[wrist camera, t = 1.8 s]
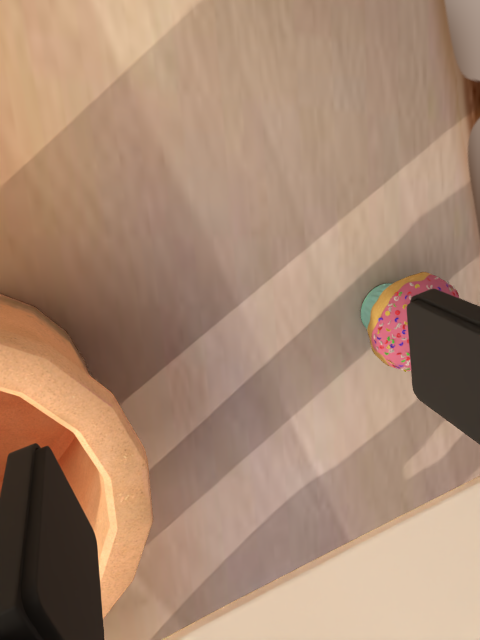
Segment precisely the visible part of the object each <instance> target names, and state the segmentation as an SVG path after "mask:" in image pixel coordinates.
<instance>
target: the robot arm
mask: <svg viewBox="0 0 480 640" xmlns="http://www.w3.org/2000/svg"><path fill="white" fill-rule="evenodd" d="M407 322H408V335H409V347H410V360H411V373H412V386H413V391H414V393H415V395H416V396H417V398H418V399H419V400H420V401H422V402H423V403H424V404H426V405H427V406H428V407H430V408H431V409H432V410H434V411H435V412H436V413H438V414H439V415H441V416H442V417H443V418H445V419H446V420H447V421H449V422H450V423H451V424H453V425H454V426H456V427H457V428H458V429H460V430H461V431H462V432H464V433H465V434H466V435H468V436H469V437H470V438H472V439H473V440H475V441H476V442H477V443H479V444H480V307H479V306H477V305H474V304H472V303H469V302H467V301H465V300H462V299H460V298H457V297H455V296H452V295H450V294H447V293H445V292H442V291H440V290H437V289H430V290H427V291H425V292H422V293H419V294H417V295H414V296H413V297H412V298H411V300H410V303H409V304H408V305H407ZM0 640H104V627H103V614H102V601H101V587H100V574H99V560H98V547H97V540H96V536H95V533H94V530H93V528H92V526H91V524H90V522H89V520H88V519H87V517H86V515H85V513H84V511H83V509H82V507H81V505H80V503H79V501H78V500H77V498H76V496H75V494H74V492H73V490H72V488H71V486H70V484H69V482H68V481H67V479H66V477H65V475H64V473H63V471H62V469H61V467H60V465H59V463H58V461H57V460H56V458H55V456H54V454H53V452H52V450H51V449H50V447H49V446H44V447H42V448H40V446H39V445H38V444H37V443H34V444H32V445H29V446H26V447H24V448H21V449H19V450H16V451H14V452H11V453H9V454H8V457H7V462H6V468H5V473H4V478H3V483H2V489H1V494H0ZM162 640H480V476H479V477H477V478H475V479H473V480H471V481H469V482H467V483H465V484H463V485H461V486H459V487H457V488H455V489H453V490H451V491H449V492H447V493H445V494H443V495H441V496H439V497H437V498H435V499H433V500H431V501H429V502H427V503H425V504H423V505H421V506H419V507H417V508H415V509H413V510H411V511H409V512H407V513H405V514H403V515H401V516H399V517H397V518H395V519H393V520H391V521H389V522H388V523H386V524H384V525H382V526H380V527H378V528H376V529H374V530H372V531H370V532H368V533H366V534H364V535H362V536H360V537H358V538H356V539H354V540H352V541H350V542H348V543H346V544H344V545H342V546H340V547H338V548H336V549H334V550H333V551H331V552H329V553H327V554H325V555H323V556H321V557H319V558H317V559H315V560H313V561H311V562H309V563H307V564H305V565H303V566H301V567H299V568H298V569H296V570H294V571H292V572H290V573H288V574H286V575H284V576H282V577H280V578H278V579H276V580H274V581H272V582H270V583H268V584H266V585H265V586H263V587H261V588H259V589H257V590H255V591H253V592H251V593H249V594H247V595H245V596H243V597H241V598H239V599H237V600H235V601H233V602H232V603H230V604H228V605H226V606H224V607H222V608H220V609H218V610H216V611H214V612H212V613H211V614H209V615H207V616H205V617H203V618H201V619H199V620H198V621H196V622H194V623H192V624H190V625H188V626H186V627H184V628H183V629H181V630H179V631H177V632H175V633H173V634H171V635H169V636H168V637H166V638H164V639H162Z"/></svg>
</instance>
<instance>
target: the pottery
mask: <svg viewBox="0 0 480 640" xmlns="http://www.w3.org/2000/svg"><path fill="white" fill-rule="evenodd" d="M34 443H37V444H38V445H39V446H40V448H42V447H44V446H49V447H50V449H51V450H52V452H53V454H54V456H55V458H56V460H57V461H58V463H59V465H60V467H61V469H62V471H63V473H64V475H65V477H66V479H67V481H68V482H69V484H70V486H71V488H72V490H73V492H74V494H75V496H76V498H77V500H78V501H79V503H80V505H81V507H82V509H83V511H84V513H85V515H86V517H87V519H88V520H89V522H90V524H91V526H92V528H93V530H94V533H95V536H96V540H97V547H98V560H99V574H100V587H101V601H102V614H103V618H104V617H105V616H106V614H107V613H108V612H109V610H110V609H111V608H112V607H113V605H114V604H115V603H116V601H117V600H118V599H119V598H120V596H121V595H122V594H123V592H124V591H125V590H126V589H127V587H128V586H129V585H130V583H131V582H132V581H133V579H134V576H135V573H136V570H137V567H138V564H139V561H140V558H141V555H142V552H143V549H144V546H145V543H146V540H147V537H148V534H149V531H150V528H151V525H152V522H153V513H152V502H151V491H150V480H149V469H148V460H147V456H146V452H145V448H144V447H143V445H142V443H141V441H140V440H139V438H138V436H137V435H136V433H135V431H134V429H133V428H132V426H131V424H130V423H129V421H128V419H127V418H126V416H125V414H124V412H123V411H122V409H121V407H120V406H119V404H118V402H117V400H116V399H115V397H114V395H113V394H112V392H110V391H109V390H108V389H107V388H105V387H104V386H103V385H101V384H100V383H99V382H97V381H96V380H95V379H93V378H92V377H91V376H90V375H89V373H88V371H87V368H86V364H85V362H84V360H83V359H82V357H81V355H80V354H79V352H78V350H77V349H76V347H75V345H74V344H73V342H72V340H71V339H70V337H69V335H68V333H67V332H66V331H64V330H63V329H62V328H61V327H59V326H58V325H57V324H56V323H54V322H53V321H52V320H51V319H49V318H48V317H47V316H46V315H44V314H43V313H42V312H40V311H39V310H38V309H37V308H35V307H34V306H31V305H29V304H26V303H23V302H21V301H18V300H15V299H13V298H10V297H7V296H4V295H2V294H0V494H1V489H2V483H3V478H4V473H5V468H6V462H7V457H8V454H9V453H11V452H14V451H16V450H19V449H21V448H24V447H26V446H29V445H32V444H34Z"/></svg>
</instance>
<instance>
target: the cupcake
mask: <svg viewBox="0 0 480 640" xmlns="http://www.w3.org/2000/svg"><path fill="white" fill-rule="evenodd" d="M447 282H448V281H447ZM447 282H445V281H444V280H442V279H440V278H439V277H437V276H435V275H432V274H429V273H426V272H421V273H418V274H415V275H411V276H408V277H406V278H403V279H401V280H399V281H397V282H395V283H387V284H382V285H379V286H377V287H375V288H374V289H373V290H371V291H370V292H369V294H368V295H367V296H366V298H365V299H364V301H363V304H362V307H361V320H362V323H363V325H364V326H365V328H366V329H367V331H368V335H369V338H370V343H371V347H372V350H373V352H374V354H375V355H376V356H377V357H378V358H379V359H380V360H381V361H382V362H383V363H385V364H386V365H388V366H391V367H394V368H398V369H401V370H404V371H405V372H406V371H410V370H411V360H410V347H409V335H408V322H407V305H408V304H409V303H410V300H411V298H412V297H413V296H414V295H417V294H419V293H422V292H425V291H427V290H430V289H437V290H440V291H442V292H445V293H447V294H450V295H452V296H455V297H457V298H459V295H458V292H457V291H456V290H455V288H454V287H453V286H451V285H450V284H449V282H448V283H447Z"/></svg>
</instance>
